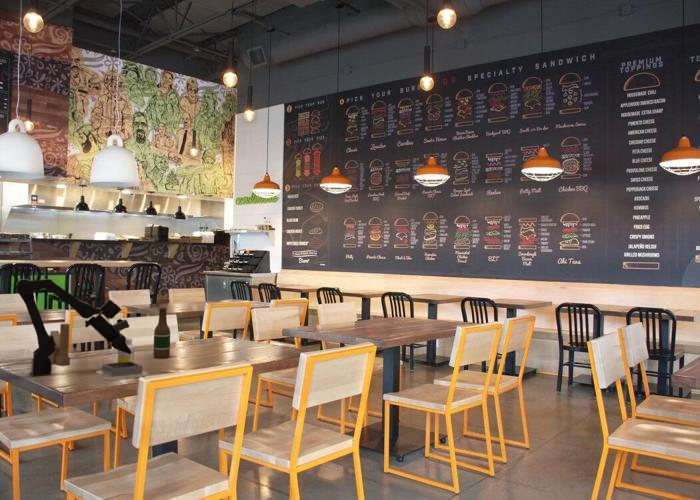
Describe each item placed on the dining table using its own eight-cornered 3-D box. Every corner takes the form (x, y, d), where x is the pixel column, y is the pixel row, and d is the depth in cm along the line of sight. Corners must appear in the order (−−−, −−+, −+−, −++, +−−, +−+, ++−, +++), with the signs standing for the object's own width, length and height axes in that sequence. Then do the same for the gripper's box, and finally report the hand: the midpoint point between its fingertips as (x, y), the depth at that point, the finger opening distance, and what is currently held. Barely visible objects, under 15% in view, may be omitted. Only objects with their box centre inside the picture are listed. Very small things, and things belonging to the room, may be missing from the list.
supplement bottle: (126, 366, 260) (127, 337, 260) (137, 368, 256) (138, 338, 257) (113, 368, 254) (114, 338, 254) (124, 370, 251) (125, 340, 251)
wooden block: (57, 362, 267) (58, 321, 267) (70, 365, 261) (71, 323, 261) (49, 363, 264) (50, 322, 264) (61, 366, 258) (63, 324, 258)
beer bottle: (172, 357, 286) (174, 307, 286) (158, 359, 280) (159, 308, 281) (164, 355, 291) (166, 306, 292) (149, 357, 286) (151, 307, 286)
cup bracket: (108, 380, 230) (108, 370, 230) (95, 374, 242) (95, 363, 242) (148, 376, 240) (149, 366, 240) (134, 370, 253) (134, 360, 253)
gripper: (121, 315, 246) (147, 341, 251) (115, 311, 262) (140, 335, 267) (99, 335, 242) (127, 360, 247) (94, 329, 258) (120, 354, 263)
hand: (129, 352), depth 256 cm, fingers closed on supplement bottle, 7 cm apart
